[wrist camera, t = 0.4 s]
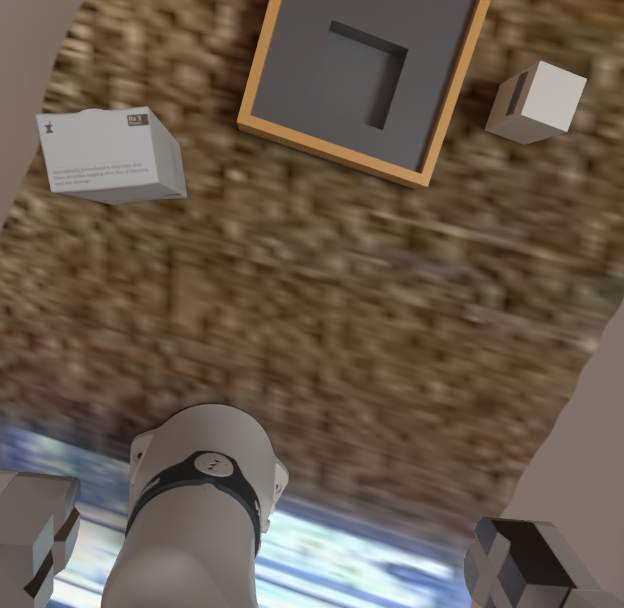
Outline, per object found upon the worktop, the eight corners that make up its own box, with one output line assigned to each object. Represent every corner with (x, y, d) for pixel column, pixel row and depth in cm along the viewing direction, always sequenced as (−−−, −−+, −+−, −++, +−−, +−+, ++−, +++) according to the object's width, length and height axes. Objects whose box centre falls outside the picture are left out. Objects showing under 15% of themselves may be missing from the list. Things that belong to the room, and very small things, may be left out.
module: (524, 144, 51) (567, 131, 44) (482, 129, 50) (519, 113, 43) (540, 99, 50) (586, 79, 43) (498, 83, 49) (538, 59, 42)
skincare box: (112, 205, 48) (44, 198, 33) (101, 146, 47) (26, 112, 32) (192, 197, 49) (159, 187, 34) (183, 138, 48) (145, 102, 33)
